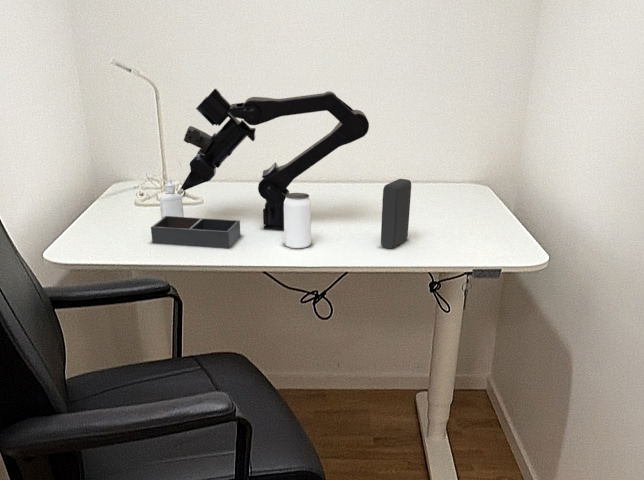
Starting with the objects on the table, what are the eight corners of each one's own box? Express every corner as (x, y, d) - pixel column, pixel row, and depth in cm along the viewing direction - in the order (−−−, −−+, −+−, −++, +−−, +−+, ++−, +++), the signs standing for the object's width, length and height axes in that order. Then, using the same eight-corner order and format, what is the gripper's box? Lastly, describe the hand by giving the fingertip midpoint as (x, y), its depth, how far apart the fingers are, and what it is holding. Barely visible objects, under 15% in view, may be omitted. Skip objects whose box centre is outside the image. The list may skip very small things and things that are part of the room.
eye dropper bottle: (182, 228, 191) (178, 181, 185) (160, 227, 191) (156, 180, 185) (185, 223, 195) (181, 177, 189) (164, 223, 195) (160, 176, 189)
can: (301, 250, 177) (301, 200, 171) (279, 246, 180) (278, 196, 174) (315, 243, 181) (316, 194, 176) (294, 239, 184) (293, 190, 178)
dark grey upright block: (394, 237, 187) (398, 177, 179) (409, 240, 185) (413, 179, 178) (378, 247, 180) (381, 184, 172) (393, 250, 178) (396, 186, 171)
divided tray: (166, 231, 189) (165, 215, 187) (240, 236, 186) (239, 220, 184) (152, 243, 180) (150, 227, 178) (229, 248, 178) (228, 232, 176)
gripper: (207, 109, 188) (167, 153, 193) (196, 121, 172) (153, 169, 177) (239, 142, 192) (200, 184, 197) (232, 157, 176) (188, 202, 181)
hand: (185, 184), depth 188 cm, fingers open, 9 cm apart
